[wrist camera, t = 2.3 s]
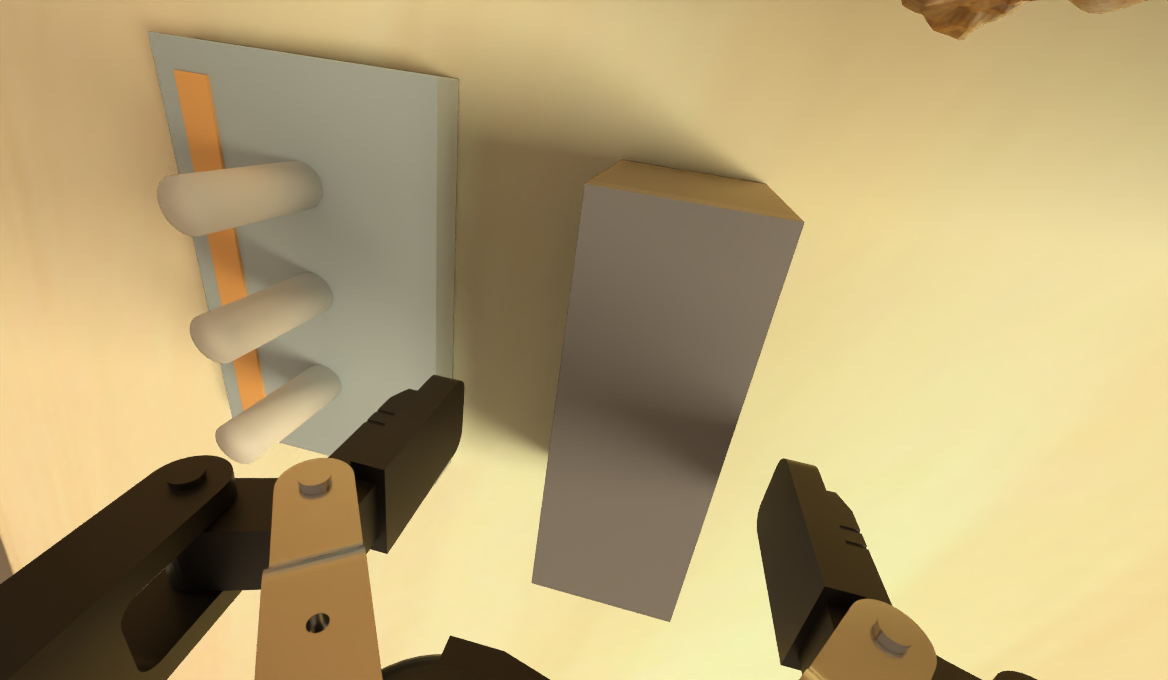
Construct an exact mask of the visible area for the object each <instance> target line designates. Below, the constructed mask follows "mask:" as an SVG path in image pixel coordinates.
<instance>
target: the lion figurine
mask: <svg viewBox="0 0 1168 680" xmlns="http://www.w3.org/2000/svg"><path fill="white" fill-rule="evenodd" d="M901 1H902V4H903V5H904V7H906V8H908V9H910V10H912V11H914V12H917V13H919V14H922V15H923V16H924V17H925V19H926V21H927V22H928V24H929V25H930V26H931V28H932V29H933V30H934V31H937V32H940V33H943V34H945V35H948V36H951V37H953V38H956V39H958V40H962V39H965V38H966V37H967V36H968V35H969V34H970V33H971V32H973V31H974V30H975V29H977V28H979V27H980V26H982V25H984V24H986V23H987V22H992V21H995V20H997V19H999V18H1001V17H1003V16H1005V15H1007V14H1010V13H1012V12H1013V11H1015V10H1016V9H1017V8H1018V7H1020V6H1022V5H1024V4H1025V3H1027V2H1029V1H1034V0H901ZM1069 1H1070V2H1072V3H1073V4H1074V5H1076V6H1077V7H1078V8H1080V9H1081V10H1083V11H1086V12H1088V13H1096V14H1100V13H1105V12H1110V11H1115V10H1119V9H1122V8H1126V7H1129V6H1131V5H1134V4H1136V3H1139V2H1141V1H1147V0H1069Z"/></svg>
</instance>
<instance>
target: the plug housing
mask: <svg viewBox="0 0 1168 680" xmlns="http://www.w3.org/2000/svg"><path fill="white" fill-rule="evenodd" d="M803 225H804V221H803V220H802V219H801V218H800V217H799V216H798V215H797V214H796V213H795V212H794V211H793V210H792V209H791V208H790V207H789V206H788V205H787V204H786V203H785V202H784V201H783V200H782V199H781V198H780V197H779V196H778V195H777V194H776V193H775V192H774V191H773V190H772V189H771V188H770V187H769V186H768V185H767V184H763V183H757V182H751V181H746V180H740V179H734V178H728V177H722V176H716V175H710V174H704V173H698V172H692V171H686V170H680V169H674V168H668V167H662V166H656V165H651V164H645V163H639V162H633V161H627V160H621V161H620V162H618V163H616V164H615V165H613V166H612V167H610V168H609V169H607V170H605V171H604V172H602V173H601V174H599V175H598V176H596V177H594V178H593V179H591V180H590V181H588V182H587V183H585V186H584V193H583V201H582V208H581V216H580V223H579V231H578V238H577V246H576V253H575V261H574V268H573V276H572V283H571V291H570V298H569V306H568V313H567V321H566V328H565V336H564V343H563V351H562V358H561V366H560V373H559V381H558V388H557V396H556V403H555V411H554V418H553V426H552V433H551V441H550V448H549V456H548V463H547V471H546V478H545V486H544V493H543V501H542V508H541V516H540V523H539V531H538V538H537V546H536V553H535V561H534V568H533V576H532V583H534V584H537V585H541V586H544V587H548V588H551V589H555V590H558V591H562V592H565V593H569V594H572V595H576V596H580V597H583V598H587V599H590V600H594V601H597V602H601V603H604V604H608V605H611V606H615V607H618V608H622V609H626V610H629V611H633V612H636V613H640V614H643V615H647V616H650V617H654V618H657V619H661V620H664V621H668V622H670V620H671V617H672V615H673V612H674V609H675V606H676V603H677V600H678V597H679V594H680V591H681V588H682V585H683V582H684V579H685V576H686V573H687V570H688V567H689V564H690V561H691V558H692V555H693V552H694V549H695V546H696V543H697V540H698V537H699V534H700V531H701V528H702V525H703V522H704V519H705V516H706V513H707V510H708V508H709V505H710V502H711V499H712V496H713V493H714V490H715V487H716V484H717V481H718V478H719V475H720V472H721V469H722V466H723V463H724V460H725V457H726V454H727V451H728V448H729V445H730V442H731V439H732V436H733V433H734V430H735V427H736V424H737V421H738V418H739V415H740V412H741V409H742V406H743V403H744V400H745V398H746V395H747V392H748V389H749V386H750V383H751V380H752V377H753V374H754V371H755V368H756V365H757V362H758V359H759V356H760V353H761V350H762V347H763V344H764V341H765V338H766V335H767V332H768V329H769V326H770V323H771V320H772V317H773V314H774V311H775V308H776V305H777V302H778V299H779V296H780V293H781V291H782V288H783V285H784V282H785V279H786V276H787V273H788V270H789V267H790V264H791V261H792V258H793V255H794V252H795V249H796V246H797V243H798V240H799V237H800V234H801V231H802V228H803Z"/></svg>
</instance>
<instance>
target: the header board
mask: <svg viewBox="0 0 1168 680" xmlns="http://www.w3.org/2000/svg"><path fill="white" fill-rule="evenodd" d="M148 34H149V39H150V43H151V48H152V52H153V57H154V62H155V66H156V71H157V75H158V80H159V84H160V89H161V94H162V98H163V103H164V107H165V112H166V116H167V121H168V126H169V130H170V135H171V139H172V144H173V149H174V153H175V158H176V162H177V167H178V171H179V174H178V175H170V176H167V177H165V178H163V179H162V180H161V181H160V183H159V186H158V190H157V197H158V202H159V206H160V208H161V210H162V212H163V214H164V216H165V217H166V219H167V220H168V221H169V222H170V224H171V225H172V226H173V227H175V228H176V229H177V230H178V231H180V232H182V233H183V234H186V235H189V236H193V240H194V245H195V249H196V254H197V258H198V263H199V267H200V272H201V277H202V281H203V286H204V290H205V295H206V299H207V304H208V309H209V312H207V313H204V314H202V315H199V316H197V317H195V318H194V319H193V320H192V322H191V324H190V334H191V338H192V340H193V342H194V344H195V345H196V347H197V348H198V349H199V351H200V352H201V353H202V354H203V355H205V356H206V357H207V358H209V359H210V360H212V361H215V362H217V363H220V364H221V368H222V373H223V377H224V382H225V386H226V391H227V396H228V400H229V405H230V409H231V414H232V419H231V420H229V421H228V422H226V423H225V424H223V425H222V426H220V427H219V428H218V429H217V430H216V434H215V437H216V441H217V444H218V446H219V447H220V449H221V450H222V451H223V452H224V453H225V454H226V455H227V456H228V457H229V458H231V459H232V460H234V461H236V462H238V463H242V464H251V463H253V462H255V461H256V460H257V459H259V458H260V457H261V456H262V455H264V454H265V453H266V452H267V451H269V450H270V449H271V448H272V447H274V446H275V445H276V444H278V443H283V444H287V445H290V446H294V447H298V448H302V449H306V450H309V451H313V452H317V453H321V454H325V455H328V456H330V455H331V454H332V453H333V452H334V451H335V450H336V449H337V448H338V447H339V446H341V445H342V444H343V443H344V442H345V441H346V440H347V439H348V438H349V437H350V436H351V435H352V434H353V433H354V432H355V431H356V430H357V429H358V428H359V427H360V426H361V425H362V424H363V423H364V422H367V419H368V418H369V417H370V416H371V415H372V414H374V413H375V412H377V411H378V409H379V408H380V407H381V406H382V405H383V404H384V403H385V402H386V401H387V400H388V399H389V398H390V397H392V396H394V395H396V394H398V393H400V392H402V391H405V390H407V389H413V390H417V391H418V390H419V388H420V387H421V386H422V385H423V384H424V383H425V382H426V381H427V380H428V379H429V378H430V377H431V376H432V375H439V376H443V377H447V378H451V379H452V370H453V324H454V278H455V231H456V185H457V139H458V92H459V79H455V78H448V77H442V76H435V75H429V74H422V73H416V72H409V71H403V70H396V69H390V68H383V67H377V66H370V65H364V64H357V63H351V62H345V61H338V60H332V59H325V58H319V57H312V56H306V55H299V54H293V53H286V52H280V51H273V50H267V49H260V48H254V47H247V46H241V45H234V44H228V43H221V42H215V41H208V40H202V39H195V38H189V37H182V36H176V35H169V34H162V33H156V32H149V31H148ZM450 462H451V460H450V461H449V463H448V464H447V466H446V467H445V469H446V468H447V467H448V465H449V464H450ZM445 469H444V470H443V472H444V471H445ZM443 472H442V473H441V475H442V474H443ZM441 475H440V476H439V478H440V477H441ZM439 478H438V479H439ZM438 479H437V481H438ZM437 481H436V482H437ZM436 482H435V484H436Z"/></svg>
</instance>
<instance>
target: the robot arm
mask: <svg viewBox="0 0 1168 680" xmlns="http://www.w3.org/2000/svg"><path fill="white" fill-rule="evenodd" d="M463 405H464V383H463V381H460V380H456V379H451V378H447V377H443V376H439V375H432V376H431V377H430V378H429V379H428V380H427V381H426V382H425V383H424V384H423V385H422V386H421V387H420V388H419V390H418V391H417V390H413V389H407V390H405V391H402V392H400V393H398V394H396V395H394V396H392V397H390V398H389V399H388V400H387V401H386V402H385V403H384V404H383V405H382V406H381V407H380V408H379V409H378V411H377V412H375V413H374V414H372V415H371V416H370V417H369V418H368V419H367V422H364V423H363V424H362V425H361V426H360V427H359V428H358V429H357V430H356V431H355V432H354V433H353V434H352V435H351V436H350V437H349V438H348V439H347V440H346V441H345V442H344V443H343V444H342V445H341V446H339V447H338V448H337V449H336V450H335V451H334V452H333V453H332V454H331V455H330V456H329V457H328V458H317V459H311V460H307V461H304V462H301V463H299V464H296V465H294V466H293V467H291V468H289V469H288V470H286V471H285V472H284V473H283V474H282V475H281V476H280V477H279V478H235V477H234V472H233V468H232V465H231V464H230V462H228V461H227V460H225V459H223V458H221V457H217V456H208V455H203V456H193V457H188V458H184V459H180V460H177V461H174V462H171V463H169V464H167V465H165V466H163V467H161V468H159V469H157V470H156V471H154V472H153V473H151V474H150V475H149V476H147V477H146V478H145V479H143V480H142V481H141V482H139V483H138V484H136V485H135V486H134V487H132V488H131V489H130V490H128V491H127V492H126V493H124V494H123V495H121V496H120V497H119V498H117V499H116V500H115V501H113V502H112V503H111V504H109V505H108V506H106V507H105V508H104V509H102V510H101V511H100V512H98V513H97V514H96V515H94V516H93V517H91V518H90V519H89V520H87V521H86V522H85V523H83V524H82V525H81V526H79V527H78V528H77V529H75V530H74V531H72V532H71V533H70V534H68V535H67V536H66V537H64V538H63V539H62V540H60V541H59V542H57V543H56V544H55V545H53V546H52V547H51V548H49V549H48V550H47V551H45V552H44V553H42V554H41V555H40V556H38V557H37V558H36V559H34V560H33V561H32V562H30V563H29V564H27V565H26V566H25V567H23V568H22V569H21V570H19V571H18V572H17V573H15V574H14V575H12V576H11V577H10V578H8V579H7V580H6V581H4V582H3V583H2V584H0V680H167V679H168V678H169V676H170V675H171V674H172V673H173V672H174V670H175V669H176V668H177V667H178V666H179V664H180V663H181V662H182V661H183V660H184V659H185V657H186V656H187V655H188V654H189V653H190V651H191V650H192V649H193V648H194V647H195V646H196V644H197V643H198V642H199V641H200V640H201V638H202V637H203V636H204V635H205V634H206V633H207V631H208V630H209V629H210V628H211V627H212V625H213V624H214V623H215V622H216V621H217V620H218V618H219V617H220V616H221V615H222V614H223V612H224V611H225V610H226V609H227V608H228V606H229V605H230V604H231V603H232V602H233V601H234V599H235V598H236V597H237V596H238V595H239V593H240V592H241V591H242V590H259V589H261V596H260V610H259V624H258V638H257V652H256V665H255V679H254V680H550V679H548V678H546V677H545V676H543V675H542V674H540V673H538V672H537V671H535V670H534V669H532V668H530V667H529V666H527V665H526V664H524V663H522V662H521V661H519V660H518V659H516V658H514V657H513V656H511V655H509V654H508V653H506V652H505V651H501V650H498V649H495V648H491V647H488V646H484V645H481V644H477V643H474V642H470V641H467V640H464V639H460V638H457V637H453V636H450V637H449V639H448V642H447V644H446V646H445V648H444V651H443V653H442V654H434V655H425V656H418V657H414V658H410V659H406V660H403V661H400V662H397V663H395V664H392V665H389V666H387V667H385V668H383V669H381V664H380V656H379V649H378V641H377V633H376V626H375V618H374V610H373V603H372V595H371V587H370V580H369V572H368V564H367V557H366V554H367V553H368V551H369V550H370V549H372V550H375V551H379V552H382V553H386V554H387V553H388V552H389V551H390V549H391V548H392V546H393V545H394V543H395V542H396V540H397V539H398V537H399V536H400V534H401V533H402V531H403V530H404V528H405V527H406V525H407V524H408V522H409V521H410V519H411V518H412V516H413V515H414V513H415V512H416V510H417V509H418V507H419V506H420V504H421V503H422V501H423V500H424V498H425V497H426V495H427V494H428V492H429V491H430V489H431V488H432V486H433V485H434V484H435V482H436V481H437V479H438V478H439V476H440V475H441V473H442V472H443V470H444V469H445V467H446V466H447V464H448V463H449V461H450V460H451V458H452V457H453V455H454V454H455V452H456V450H457V447H458V445H459V442H460V438H461V434H462V422H463ZM757 534H758V539H759V545H760V550H761V556H762V562H763V567H764V573H765V579H766V584H767V590H768V596H769V601H770V607H771V613H772V618H773V624H774V630H775V635H776V641H777V646H778V652H779V658H780V663H781V665H783V666H786V667H790V668H794V669H797V670H801V671H802V676H801V678H800V679H799V680H981V679H979V678H978V677H976V676H974V675H972V674H970V673H968V672H966V671H964V670H962V669H961V668H959V667H957V666H955V665H953V664H951V663H949V662H947V661H945V660H944V659H942V658H940V657H939V656H937V655H936V653H935V650H934V648H933V645H932V643H931V642H930V640H929V638H928V637H927V636H926V634H925V633H924V632H923V630H922V629H921V628H920V627H919V626H918V625H917V624H916V623H915V622H914V621H913V620H912V619H911V618H909V617H908V616H907V615H906V614H904V613H903V612H901V611H900V610H898V609H897V608H895V607H893V606H892V604H891V602H890V599H889V597H888V595H887V592H886V590H885V588H884V585H883V583H882V581H881V578H880V576H879V573H878V571H877V569H876V566H875V564H874V562H873V559H872V557H871V555H870V552H869V550H867V549H866V546H867V545H866V543H865V541H864V538H863V536H862V534H860V529H859V526H858V524H857V522H856V519H855V517H854V515H853V512H852V511H851V509H850V508H849V507H848V506H847V505H846V504H845V503H844V501H843V500H842V499H841V498H840V497H839V496H838V495H837V493H834V492H830V491H826V489H825V486H824V483H823V481H822V478H821V475H820V473H819V470H818V468H817V467H816V466H813V465H809V464H805V463H801V462H796V461H792V460H788V459H781V460H780V461H779V463H778V465H777V467H776V469H775V472H774V474H773V476H772V479H771V481H770V484H769V486H768V488H767V491H766V493H765V495H764V498H763V500H762V502H761V505H760V508H759V512H758V517H757ZM150 581H151V582H150ZM149 582H150V583H149ZM148 583H149V584H148ZM147 584H148V585H147ZM146 585H147V586H146ZM145 586H146V587H145ZM993 680H1037V679H1035V678H1033V677H1031V676H1028V675H1025V674H1023V673H1019V672H1015V671H1003V672H1000V673H998V674H997V675H996V676H995V678H994V679H993Z"/></svg>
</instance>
